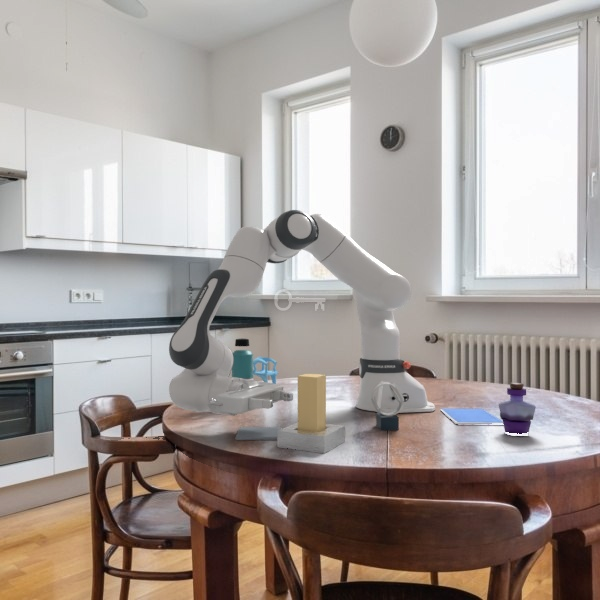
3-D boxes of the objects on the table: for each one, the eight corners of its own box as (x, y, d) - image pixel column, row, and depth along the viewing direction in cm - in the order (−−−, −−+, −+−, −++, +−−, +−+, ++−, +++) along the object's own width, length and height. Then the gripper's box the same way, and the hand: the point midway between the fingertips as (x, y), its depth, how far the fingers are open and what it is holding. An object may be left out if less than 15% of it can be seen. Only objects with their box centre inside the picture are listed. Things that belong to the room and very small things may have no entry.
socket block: (300, 436, 133) (300, 420, 133) (344, 441, 128) (344, 425, 128) (277, 447, 123) (277, 430, 123) (324, 453, 118) (324, 436, 118)
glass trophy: (406, 430, 139) (406, 384, 139) (373, 430, 138) (373, 384, 138) (400, 424, 144) (401, 381, 144) (369, 425, 144) (369, 381, 144)
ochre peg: (306, 440, 128) (307, 373, 128) (325, 443, 126) (325, 374, 126) (297, 445, 124) (297, 376, 124) (316, 448, 122) (316, 377, 122)
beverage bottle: (250, 410, 163) (250, 339, 163) (227, 409, 165) (227, 339, 165) (256, 405, 170) (256, 338, 170) (235, 405, 171) (235, 337, 171)
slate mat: (281, 429, 139) (281, 427, 139) (280, 439, 129) (280, 437, 129) (239, 429, 139) (239, 427, 139) (235, 439, 129) (235, 437, 129)
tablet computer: (439, 412, 163) (439, 407, 163) (483, 412, 163) (483, 407, 163) (456, 427, 144) (456, 422, 144) (507, 427, 144) (506, 422, 144)
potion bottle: (504, 428, 141) (504, 379, 141) (541, 433, 135) (541, 382, 135) (491, 434, 134) (491, 383, 134) (529, 440, 128) (529, 387, 128)
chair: (268, 395, 188) (268, 359, 188) (247, 393, 192) (248, 357, 192) (281, 392, 194) (281, 356, 194) (261, 390, 199) (261, 355, 199)
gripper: (203, 388, 126) (257, 393, 119) (252, 377, 144) (302, 380, 138) (203, 417, 126) (258, 424, 119) (252, 402, 144) (302, 407, 138)
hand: (282, 400), depth 129 cm, fingers open, 8 cm apart
